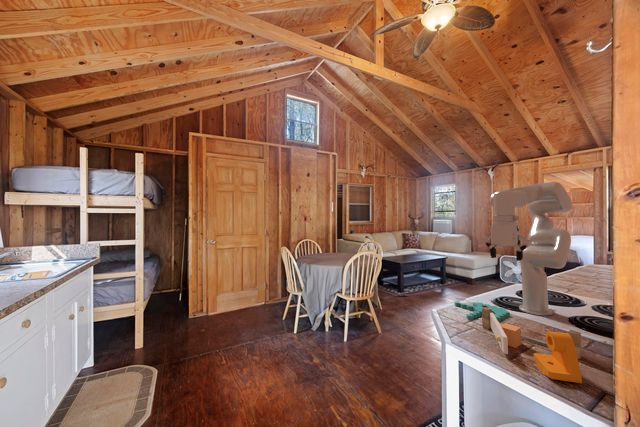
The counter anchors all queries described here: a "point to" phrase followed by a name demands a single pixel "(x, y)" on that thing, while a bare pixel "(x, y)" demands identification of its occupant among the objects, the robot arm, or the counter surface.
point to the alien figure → (498, 312)
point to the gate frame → (575, 336)
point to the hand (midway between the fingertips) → (506, 259)
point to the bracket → (559, 358)
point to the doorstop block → (512, 334)
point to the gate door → (499, 333)
